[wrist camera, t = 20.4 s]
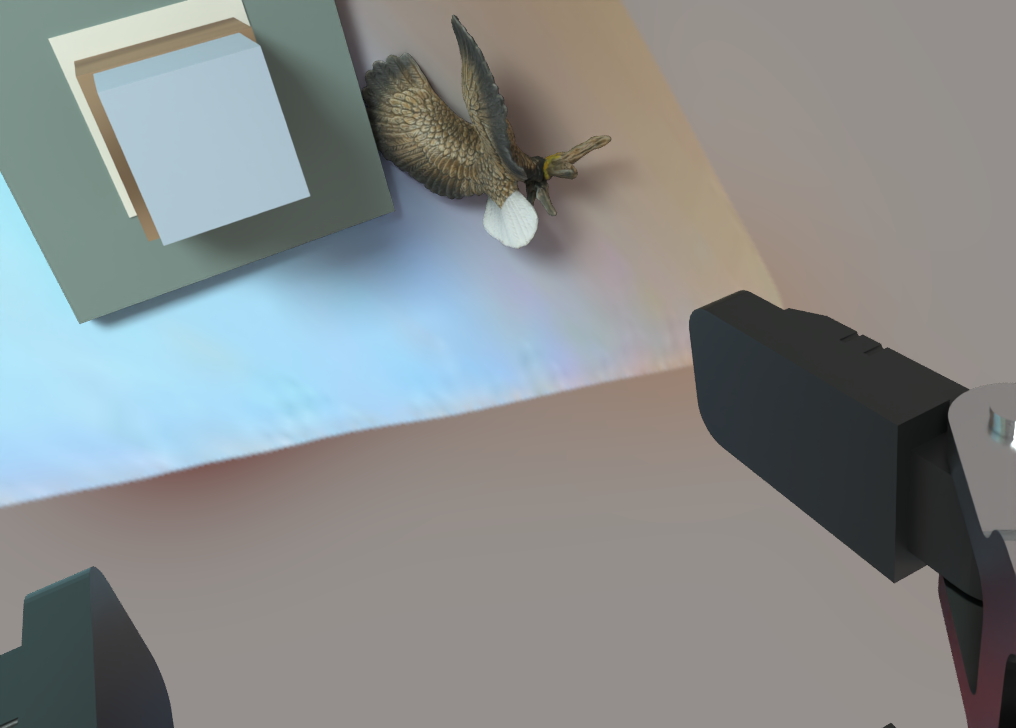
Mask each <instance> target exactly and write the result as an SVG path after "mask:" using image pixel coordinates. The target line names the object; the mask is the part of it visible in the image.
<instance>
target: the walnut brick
mask: <svg viewBox="0 0 1016 728" xmlns="http://www.w3.org/2000/svg"><path fill="white" fill-rule="evenodd" d="M236 33H241V34H242V35H244V36H246V37H247V38H249V39H250V40H252V41H254V42H255V43H257V42H256V39H255V36H254V33H253V30H252V27H250V26H248V25H247V24H245V23H243V22H241V21H239V20H238V19H236V18H234V17H232V18H228V19H225V20H221V21H217V22H214V23H210V24H207V25H203V26H199V27H196V28H192V29H189V30H185V31H181V32H178V33H174V34H171V35H167V36H163V37H160V38H156V39H153V40H149V41H145V42H142V43H138V44H135V45H131V46H127V47H124V48H120V49H117V50H113V51H109V52H106V53H102V54H99V55H95V56H91V57H88V58H84V59H81V60H77V61H74V65H75V74H76V78H77V81H78V83H79V85H80V87H81V90H82V92H83V94H84V96H85V99H86V101H87V103H88V106H89V108H90V110H91V112H92V115H93V117H94V119H95V121H96V124H97V126H98V128H99V130H100V133H101V135H102V137H103V139H104V142H105V144H106V146H107V148H108V151H109V153H110V155H111V158H112V160H113V162H114V164H115V167H116V169H117V171H118V173H119V176H120V178H121V180H122V182H123V185H124V187H125V189H126V191H127V194H128V196H129V198H130V201H131V203H132V205H133V207H134V210H135V212H136V214H137V216H138V219H139V221H140V223H141V225H142V228H143V230H144V232H145V234H146V237H147V239H148V241H152V240H155V239H158V238H160V236H159V234H158V231H157V229H156V227H155V224H154V222H153V220H152V218H151V215H150V213H149V211H148V208H147V206H146V204H145V201H144V199H143V197H142V195H141V192H140V190H139V188H138V185H137V183H136V181H135V178H134V176H133V174H132V172H131V169H130V167H129V165H128V162H127V160H126V158H125V155H124V153H123V151H122V149H121V146H120V144H119V142H118V139H117V137H116V135H115V132H114V130H113V128H112V126H111V123H110V121H109V119H108V116H107V114H106V112H105V109H104V107H103V105H102V103H101V100H100V98H99V96H98V93H97V89H96V85H95V80H94V76H93V74H95V73H98V72H102V71H105V70H109V69H112V68H116V67H119V66H123V65H127V64H130V63H134V62H137V61H141V60H144V59H148V58H151V57H155V56H158V55H162V54H165V53H169V52H172V51H176V50H179V49H183V48H186V47H190V46H193V45H197V44H201V43H204V42H208V41H211V40H215V39H218V38H222V37H225V36H229V35H232V34H236Z"/></svg>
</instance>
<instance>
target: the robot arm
mask: <svg viewBox="0 0 1016 728" xmlns="http://www.w3.org/2000/svg"><path fill="white" fill-rule="evenodd" d="M689 331H690V340H691V348H692V357H693V365H694V373H695V382H696V390H697V399H698V406H699V410H700V414H701V416H702V419H703V421H704V423H705V425H706V427H707V429H708V431H709V432H710V434H711V435H712V437H713V438H714V439H715V440H716V441H717V443H718V444H719V445H721V446H722V447H723V448H724V449H725V450H727V451H728V452H729V453H731V454H732V455H733V456H734V457H736V458H737V459H738V460H739V461H741V462H742V463H743V464H744V465H746V466H747V467H748V468H750V469H751V470H752V471H753V472H754V473H756V474H757V475H758V476H760V477H761V478H762V479H763V480H765V481H766V482H767V483H769V484H770V485H771V486H772V487H773V488H775V489H776V490H777V491H778V492H780V493H781V494H782V495H784V496H785V497H786V498H787V499H789V500H790V501H791V502H792V503H794V504H795V505H796V506H798V507H799V508H800V509H801V510H802V511H804V512H805V513H806V514H807V515H809V516H810V517H811V518H813V519H814V520H815V521H816V522H818V523H819V524H820V525H821V526H823V527H824V528H825V529H826V530H828V531H829V532H830V533H831V534H833V535H834V536H835V537H836V538H838V539H839V540H840V541H842V542H843V543H844V544H845V545H847V546H848V547H849V548H850V549H852V550H853V551H854V552H855V553H857V554H858V555H859V556H860V557H862V558H863V559H864V560H866V561H867V562H868V563H869V564H871V565H872V566H873V567H874V568H876V569H877V570H878V571H879V572H881V573H882V574H883V575H884V576H886V577H887V578H888V579H890V580H891V581H892V582H893V583H896V582H898V581H899V580H901V579H903V578H905V577H907V576H908V575H910V574H912V573H913V572H915V571H917V570H919V569H921V568H923V567H924V566H926V565H928V566H930V567H931V568H932V569H934V570H935V571H936V572H938V573H939V582H938V583H939V584H938V593H939V599H940V603H941V608H942V612H943V617H944V621H945V625H946V630H947V634H948V639H949V643H950V648H951V652H952V656H953V661H954V665H955V670H956V673H957V678H958V682H959V687H960V691H961V696H962V700H963V704H964V709H965V713H966V719H967V725H968V728H1016V383H998V384H990V385H985V386H980V387H977V388H974V389H971V390H969V389H967V388H966V387H963V386H962V385H960V384H958V383H956V382H954V381H952V380H950V379H948V378H946V377H944V376H942V375H940V374H938V373H936V372H934V371H932V370H931V369H929V368H927V367H925V366H923V365H921V364H919V363H917V362H915V361H913V360H911V359H909V358H907V357H905V356H903V355H901V354H899V353H898V352H896V351H894V350H892V349H890V348H885V349H883V348H882V345H881V344H880V343H878V342H876V341H874V340H872V339H870V338H868V337H866V336H864V335H861V336H858V334H857V331H855V330H853V329H851V328H849V327H847V326H845V325H843V324H841V323H839V322H837V321H835V320H833V319H831V318H830V317H828V316H824V315H819V314H814V313H809V312H805V311H800V310H795V309H790V308H788V309H786V310H783V309H781V308H779V307H777V306H775V305H773V304H772V303H770V302H768V301H766V300H764V299H762V298H760V297H759V296H757V295H755V294H753V293H751V292H749V291H745V290H741V291H738V292H736V293H733V294H731V295H729V296H726V297H724V298H722V299H719V300H717V301H715V302H712V303H710V304H708V305H705V306H703V307H701V308H698V309H696V310H694V311H693V312H692V314H691V316H690V320H689ZM23 610H24V611H23V629H22V646H21V647H18V648H16V649H14V650H11V651H9V652H7V653H4V654H3V655H0V728H174V725H173V718H172V712H171V706H170V700H169V696H168V693H167V690H166V686H165V683H164V681H163V678H162V675H161V673H160V670H159V668H158V666H157V664H156V662H155V660H154V658H153V656H152V655H151V653H150V651H149V649H148V648H147V646H146V644H145V643H144V641H143V639H142V638H141V636H140V635H139V633H138V631H137V629H136V628H135V626H134V624H133V623H132V621H131V619H130V618H129V616H128V615H127V613H126V611H125V610H124V608H123V606H122V605H121V603H120V601H119V600H118V598H117V596H116V594H115V593H114V591H113V590H112V588H111V586H110V584H109V583H108V581H107V580H106V578H105V577H104V575H103V574H102V573H101V572H100V571H99V570H98V569H97V568H96V567H94V566H93V567H91V568H88V569H86V570H84V571H81V572H79V573H77V574H74V575H72V576H70V577H67V578H65V579H63V580H61V581H58V582H56V583H53V584H51V585H49V586H46V587H44V588H42V589H39V590H37V591H35V592H32V593H30V594H28V595H27V596H26V597H25V600H24V609H23ZM883 728H896V727H895V726H894V725H893V724H892V723H890V724H888V725H886V726H885V727H883Z"/></svg>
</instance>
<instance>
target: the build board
mask: <svg viewBox="0 0 1016 728" xmlns="http://www.w3.org/2000/svg"><path fill="white" fill-rule="evenodd" d="M232 17H234V18H236V19H238V20H239V21H241V22H243V23H245V24H247V25H248V26H250V27H252V30H253V33H254V36H255V39H256V42H257V44H258V45H260V46H261V49H262V52H263V55H264V58H265V61H266V64H267V67H268V70H269V73H270V76H271V79H272V82H273V85H274V88H275V91H276V94H277V97H278V100H279V103H280V106H281V109H282V112H283V115H284V118H285V121H286V124H287V127H288V130H289V133H290V136H291V139H292V142H293V145H294V148H295V151H296V154H297V157H298V160H299V163H300V166H301V169H302V172H303V175H304V178H305V181H306V184H307V187H308V190H309V193H310V196H309V197H306V198H303V199H300V200H297V201H294V202H291V203H288V204H286V205H283V206H280V207H277V208H274V209H271V210H268V211H265V212H262V213H259V214H256V215H253V216H250V217H247V218H244V219H241V220H238V221H235V222H233V223H230V224H227V225H224V226H221V227H218V228H215V229H212V230H209V231H206V232H203V233H200V234H197V235H194V236H191V237H188V238H185V239H183V240H180V241H177V242H174V243H171V244H168V245H165V246H164V245H163V243H162V241H161V238H158V239H155V240H152V241H148V239H147V237H146V234H145V232H144V230H143V228H142V225H141V223H140V221H139V219H138V216H137V214H136V212H135V210H134V207H133V205H132V203H131V201H130V198H129V196H128V194H127V191H126V189H125V187H124V185H123V182H122V180H121V178H120V176H119V173H118V171H117V169H116V167H115V164H114V162H113V160H112V158H111V155H110V153H109V151H108V148H107V146H106V144H105V142H104V139H103V137H102V135H101V133H100V130H99V128H98V126H97V124H96V121H95V119H94V117H93V115H92V112H91V110H90V108H89V106H88V103H87V101H86V99H85V96H84V94H83V92H82V90H81V87H80V85H79V83H78V81H77V78H76V74H75V65H74V61H77V60H81V59H84V58H88V57H91V56H95V55H99V54H102V53H106V52H109V51H113V50H117V49H120V48H124V47H127V46H131V45H135V44H138V43H142V42H145V41H149V40H153V39H156V38H160V37H163V36H167V35H171V34H174V33H178V32H181V31H185V30H189V29H192V28H196V27H199V26H203V25H207V24H210V23H214V22H217V21H221V20H225V19H228V18H232ZM0 171H1V173H2V175H3V177H4V179H5V181H6V183H7V185H8V187H9V189H10V191H11V193H12V195H13V197H14V198H15V200H16V202H17V204H18V206H19V208H20V210H21V212H22V214H23V216H24V218H25V220H26V222H27V224H28V225H29V227H30V229H31V231H32V233H33V235H34V237H35V239H36V241H37V243H38V245H39V247H40V249H41V251H42V252H43V254H44V256H45V258H46V260H47V262H48V264H49V266H50V268H51V270H52V272H53V274H54V276H55V277H56V279H57V281H58V283H59V285H60V287H61V289H62V291H63V293H64V295H65V297H66V299H67V301H68V303H69V304H70V306H71V308H72V310H73V312H74V314H75V316H76V318H77V320H78V322H79V324H81V323H84V322H87V321H90V320H92V319H95V318H98V317H101V316H104V315H106V314H109V313H112V312H115V311H117V310H120V309H123V308H126V307H129V306H131V305H134V304H137V303H140V302H143V301H145V300H148V299H151V298H154V297H157V296H159V295H162V294H165V293H168V292H170V291H173V290H176V289H179V288H182V287H184V286H187V285H190V284H193V283H196V282H198V281H201V280H204V279H207V278H209V277H212V276H215V275H218V274H221V273H223V272H226V271H229V270H232V269H235V268H237V267H240V266H243V265H246V264H249V263H251V262H254V261H257V260H260V259H262V258H265V257H268V256H271V255H274V254H276V253H279V252H282V251H285V250H288V249H290V248H293V247H296V246H299V245H301V244H304V243H307V242H310V241H313V240H315V239H318V238H321V237H324V236H327V235H329V234H332V233H335V232H338V231H341V230H343V229H346V228H349V227H352V226H354V225H357V224H360V223H363V222H366V221H368V220H371V219H374V218H377V217H380V216H382V215H385V214H388V213H391V212H393V211H395V209H394V205H393V202H392V198H391V195H390V192H389V188H388V185H387V181H386V178H385V174H384V171H383V167H382V164H381V160H380V157H379V154H378V150H377V147H376V143H375V140H374V136H373V133H372V129H371V126H370V122H369V119H368V116H367V112H366V109H365V105H364V102H363V98H362V95H361V91H360V88H359V84H358V81H357V78H356V74H355V71H354V67H353V64H352V60H351V57H350V53H349V50H348V46H347V43H346V40H345V36H344V33H343V29H342V26H341V22H340V19H339V15H338V12H337V8H336V5H335V2H334V0H0Z"/></svg>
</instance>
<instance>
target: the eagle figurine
mask: <svg viewBox="0 0 1016 728" xmlns="http://www.w3.org/2000/svg"><path fill="white" fill-rule="evenodd" d="M451 23H452V27H453V30H454V33H455V35H456V38H457V41H458V45H459V49H460V54H461V59H462V73H461V74H462V93H463V98H464V101H465V103H466V106H467V109H468V112H469V115H470V118H471V120H472V123H473V124H471V123H469V122H466V121H464V120H463V119H462V118H460V117H458V116H457V115H456V114H455V113H454V112H453V111H452V110H451V109H450V108H449V107H448V106H447V105H446V104H445V103H444V102H443V101H442V100H441V99H440V98H439V97H438V96H437V95H436V94H435V92H434V91H433V90H432V88H431V86H430V84H429V83H428V81H427V79H426V77H425V76H424V74H423V73H422V72H421V70H420V68H419V66H418V64H417V63H416V62H415V61H414V59H413V58H412V57H411V55H409V54H408V53H405V54H403V55H402V56H401V57H397V56H394V55H390V56H389V57H388V58H387V60H386V62H383V61H381V60H380V61H375V62H374V63H373V70H369V71H367V73H366V76H365V79H366V82H367V87H365V88H363V91H362V96H363V98H364V101H365V102H366V103H367V105H368V106H369V107H368V108H366V112H367V116H368V119H369V122H370V126H371V129H372V133H373V136H374V140H375V143H376V147H377V149H378V150H379V151H381V152H382V153H383V156H384V157H385V158H386V159H387V160H390V161H392V162H393V163H394V164H395V165H396V166H397V167H399V169H401V170H402V171H405V172H409V175H410V176H412V177H413V178H415V179H416V180H417V181H418V182H420V183H423V184H425V187H426V188H427V189H429V190H430V191H431V192H433V193H437V194H438V195H440V196H447V197H448V198H450V199H454V198H457V199H462V198H463V197H464V196H467V197H470V196H473V195H474V194H476V195H478V196H480V195H482V194H483V193H486V194H487V195H488V199H487V204H486V210H485V214H484V220H483V225H484V227H485V229H486V231H487V232H488V233H489V234H490V235H491V236H493V237H494V238H495V239H497V240H499V241H500V242H501V243H502V244H503V245H505V246H508V247H512V248H516V249H519V248H521V247H523V246H526V245H527V244H528V243H529V242H530V241H531V239H532V238H533V237H534V235H535V233H536V231H537V229H538V222H539V218H538V214H537V212H536V210H535V209H534V207H533V205H534V201H535V198H537V199H538V200H539V201H540V202H541V203H542V205H543V206H544V208H545V209H546V211H547V212H548V214H549V215H551V216H556V215H557V212H556V210H555V208H554V207H553V205H552V203H551V201H550V197H549V193H548V183H547V180H549V179H550V178H551V177H552V176H556V177H560V178H567V179H574V178H576V177H577V175H578V173H577V170H576V168H575V167H574V166H573V165H572V164H574V163H575V162H576V161H578V160H579V159H580V158H582V157H583V156H584V155H586V154H587V153H589V152H590V151H592V150H594V149H598V148H601V147H603V146H605V145H606V144H608V143H609V142H610V141H611V137H610V136H594V137H591V138H590V139H589V140H588V141H586V142H584V143H581V144H580V145H577V146H575V147H574V148H572V149H571V150H570V151H568V152H559V153H556V154H554V155H551V156H547V157H546V158H545V159H543V158H542V157H539V156H536V157H529V156H528V155H526V154H524V153H523V152H522V151H521V150H520V149H519V148H518V146H517V144H516V142H515V136H514V133H513V131H512V128H511V125H510V123H509V121H508V120H507V119H506V117H507V107H506V106H505V104H504V98H503V96H502V95H500V94H499V88H498V86H497V85H496V84H495V81H494V77H493V75H492V73H491V72H490V69H489V67H488V64H487V62H486V61H485V58H484V56H483V54H482V52H481V50H480V48H479V47H478V45H477V44H476V42H475V40H474V39H473V37H472V36H471V35H470V34H469V33H468V32H467V30H466V28H465V27H464V26H463V25H462V24H461V23H460V21H459V19H458V17H457V16H455V15H452V19H451ZM518 181H523V182H524V183H526V192H527V199H526V198H525V197H524V196H523V195H522V194H521V193H520V191H519V188H518V186H517V184H518Z"/></svg>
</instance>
